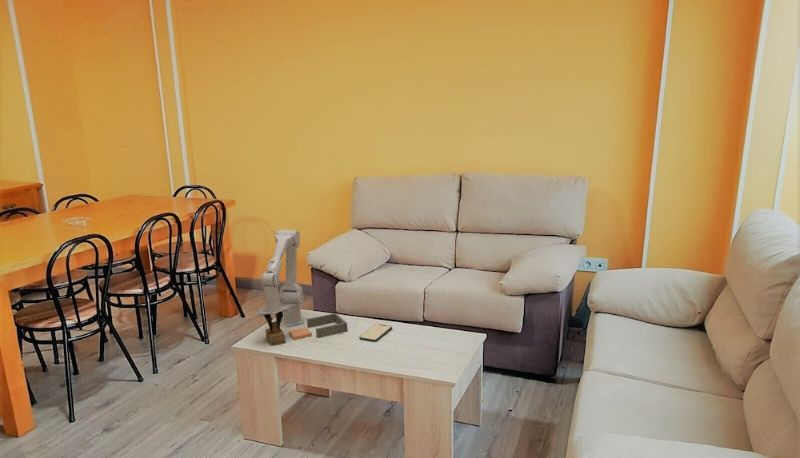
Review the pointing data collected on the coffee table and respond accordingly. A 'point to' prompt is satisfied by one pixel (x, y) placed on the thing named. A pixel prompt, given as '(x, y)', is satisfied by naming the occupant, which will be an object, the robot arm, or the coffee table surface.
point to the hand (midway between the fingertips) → (274, 329)
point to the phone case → (375, 333)
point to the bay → (327, 330)
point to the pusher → (275, 335)
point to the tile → (300, 333)
